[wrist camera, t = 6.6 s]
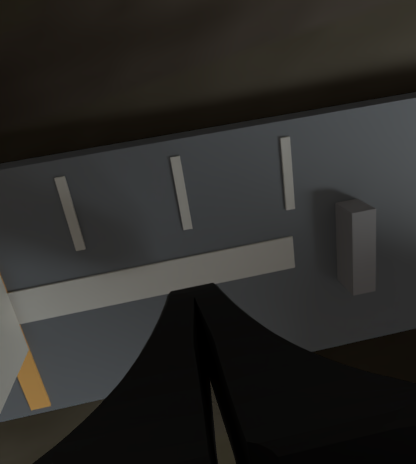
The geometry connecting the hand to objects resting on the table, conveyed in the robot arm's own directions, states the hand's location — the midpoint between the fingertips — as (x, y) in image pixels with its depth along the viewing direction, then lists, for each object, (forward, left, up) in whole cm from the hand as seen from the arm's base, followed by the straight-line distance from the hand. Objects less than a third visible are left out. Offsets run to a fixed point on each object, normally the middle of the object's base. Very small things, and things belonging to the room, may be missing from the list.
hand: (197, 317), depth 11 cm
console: (0, -1, -4) cm, 4 cm away
